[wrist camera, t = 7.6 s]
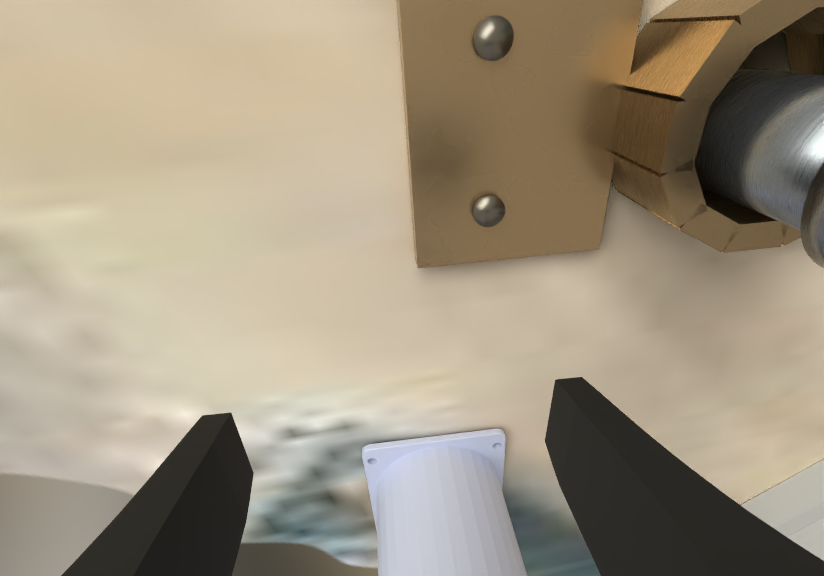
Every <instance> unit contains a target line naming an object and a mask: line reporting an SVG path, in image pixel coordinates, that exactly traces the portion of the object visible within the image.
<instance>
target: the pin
mask: <svg viewBox="0 0 824 576" xmlns="http://www.w3.org/2000/svg"><path fill="white" fill-rule="evenodd" d="M694 166H695V169H696V173H697V176H698V179H699V183H700V186H701V187H702V188H704V189H707V190H709V191H711V192H713V193H716V194H718V195H720V196H723V197H725V198H727V199H729V200H732V201H734V202H736V203H739V204H741V205H743V206H745V207H748V208H750V209H752V210H755V211H757V212H759V213H761V214H764V215H766V216H768V217H771V218H773V219H775V220H777V221H780V222H782V223H784V224H787V225H789V226H791V227H794V228H796V229H798V230H800V231H801V239H802V242H803V246H804V249H805V250H806V252H807V254H808V256H809V257H810V258H811V259H812V260H813V261H814V262H815V263H816V264H818V265H819V266H821V267H823V268H824V75H815V74H803V73H791V72H779V71H767V70H755V69H743V68H738V70H737V71H736V72H735V74H734V75H733V76H732V78H731V79H730V80H729V81H728V83H727V84H726V85H725V87H724V88H723V89H722V91H721V92H720V93H719V95H718V96H717V97H716V99H715V100H714V101H713V103H712V104H711V105H710V107H709V111H708V114H707V118H706V122H705V125H704V129H703V133H702V136H701V140H700V144H699V147H698V151H697V155H696V158H695V162H694Z"/></svg>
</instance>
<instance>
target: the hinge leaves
mask: <svg viewBox="0 0 824 576" xmlns="http://www.w3.org/2000/svg"><path fill="white" fill-rule="evenodd" d="M642 4H643V0H397V8H398V22H399V36H400V50H401V64H402V79H403V93H404V107H405V121H406V135H407V149H408V164H409V178H410V192H411V206H412V220H413V234H414V249H415V259H416V263H417V268H423V267H433V266H442V265H452V264H461V263H471V262H481V261H490V260H500V259H509V258H519V257H529V256H538V255H548V254H557V253H567V252H577V251H586V250H596V249H599V246H600V241H601V235H602V229H603V224H604V218H605V212H606V207H607V201H608V195H609V190H610V184H611V179H612V181H613V183H614V186H615V188H616V189H617V190H618V192H620V193H622V194H623V195H625V196H626V197H628V198H630V199H631V200H633V201H634V202H636V203H638V204H639V205H641V206H642V207H644V208H646V209H647V210H649V211H650V212H652V213H654V214H655V215H657V216H658V217H660V218H662V219H663V220H665V221H666V222H668V223H670V224H671V225H673V226H674V227H676V228H678V229H679V230H681V231H683V232H685V233H687V234H688V235H690V236H692V237H694V238H696V239H698V240H700V241H702V242H704V243H705V244H707V245H709V246H711V247H713V248H715V249H717V250H719V251H720V252H722V251H723V252H734V251H743V250H753V249H762V248H772V247H781V244H783V245H786V244H788V243H790V242H792V241H793V240H795V239H797V238H799V237H801V231H800V230H798V229H796V228H794V227H791V226H789V225H787V224H784V223H782V222H780V221H777V220H775V219H773V218H771V217H768V216H766V215H764V214H761V213H759V212H757V211H755V210H752V209H750V208H748V207H745V206H743V205H741V204H739V203H736V202H734V201H732V200H729V199H727V198H725V197H723V196H720V195H718V194H716V193H713V192H711V191H709V190H707V189H704V188H702V187H701V186H700V183H699V179H698V176H697V173H696V169H695V166H694V162H695V158H696V155H697V151H698V147H699V144H700V140H701V136H702V133H703V129H704V125H705V122H706V118H707V114H708V111H709V107H710V105H711V104H712V103H713V101H714V100H715V99H716V97H717V96H718V95H719V93H720V92H721V91H722V89H723V88H724V87H725V85H726V84H727V83H728V81H729V80H730V79H731V78H732V76H733V75H734V74H735V72H736V71H737V70H738V68H739V67H740V66H741V64H742V63H743V62H744V60H745V59H746V58H747V56H748V55H749V54H750V52H751V51H752V50H753V48H754V47H756V46H757V45H759V44H760V43H762V42H764V41H765V40H767V39H768V38H770V37H771V36H773V35H774V34H776V33H778V32H779V31H782V32H783V33H784V34H785V37H786V43H787V50H788V57H789V64H790V70H791V73H803V74H815V75H824V0H677V1H676V2H675V3H673V4H672V5H670V6H669V7H667V8H666V9H664V10H663V11H662V12H660V13H659V14H657V15H656V16H654V17H653V18H651V19H650V21H651V23H646V25H645V26H644V28H643V29H642V31H641V33H640V34H639V36H638V37H637V32H638V26H639V21H640V15H641V9H642ZM636 37H637V39H636Z"/></svg>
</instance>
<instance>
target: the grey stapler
mask: <svg viewBox="0 0 824 576" xmlns="http://www.w3.org/2000/svg"><path fill="white" fill-rule="evenodd" d="M741 506H742V507H743V508H745V509H746V510H748V511H749V512H750V513H752V514H753V515H755V516H756V517H758V518H759V519H761V520H762V521H764V522H765V523H767V524H768V525H770V526H771V527H773V528H774V529H776V530H777V531H779V532H780V533H782V534H783V535H785V536H786V537H788V538H789V539H791V540H792V541H794V542H795V543H797V544H798V545H800V546H801V547H803V548H804V549H806V550H808V551H809V552H811V553H812V554H814V555H815V556H817V557H819V558H820V559H822V560H823V561H824V459H823V460H821V461H819V462H817V463H816V464H814V465H812V466H810V467H808V468H807V469H805V470H803V471H801V472H799V473H798V474H796V475H794V476H792V477H790V478H789V479H787V480H785V481H783V482H781V483H779V484H778V485H776V486H774V487H772V488H770V489H769V490H767V491H765V492H763V493H761V494H760V495H758V496H756V497H754V498H752V499H751V500H749V501H747V502H745V503H743V504H742V505H741Z"/></svg>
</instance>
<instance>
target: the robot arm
mask: <svg viewBox="0 0 824 576" xmlns="http://www.w3.org/2000/svg"><path fill="white" fill-rule="evenodd" d="M545 443H546V446H547V449H548V452H549V455H550V458H551V461H552V465H553V468H554V470H555V473H556V476H557V479H558V482H559V485H560V487H561V489H562V492H563V494H564V496H565V498H566V500H567V503H568V505H569V507H570V509H571V511H572V514H573V516H574V518H575V520H576V522H577V524H578V527H579V529H580V531H581V533H582V535H583V537H584V539H585V542H586V544H587V546H588V548H589V550H590V552H591V555H592V557H593V559H594V561H595V563H596V565H597V567H598V570H599V572H600V574H601V576H824V561H823V560H822V559H820V558H819V557H817V556H815V555H814V554H812V553H811V552H809V551H808V550H806V549H804V548H803V547H801V546H800V545H798V544H797V543H795V542H794V541H792V540H791V539H789V538H788V537H786V536H785V535H783V534H782V533H780V532H779V531H777V530H776V529H774V528H773V527H771V526H770V525H768V524H767V523H765V522H764V521H762V520H761V519H759V518H758V517H756V516H755V515H753V514H752V513H750V512H749V511H748V510H746V509H745V508H743V507H742V506H741V505H739V504H738V503H736V502H735V501H734V500H732V499H731V498H729V497H728V496H727V495H725V494H724V493H723V492H721V491H720V490H719V489H717V488H716V487H715V486H713V485H712V484H711V483H709V482H708V481H707V480H705V479H704V478H703V477H701V476H700V475H699V474H697V473H696V472H695V471H693V470H692V469H691V468H689V467H688V466H687V465H686V464H684V463H683V462H682V461H681V460H679V459H678V458H677V457H675V456H674V455H673V454H672V453H670V452H669V451H668V450H667V449H666V448H664V447H663V446H662V445H661V444H659V443H658V442H657V441H656V440H655V439H653V438H652V437H651V436H650V435H648V434H647V433H646V432H645V431H644V430H643V429H641V428H640V427H639V426H638V425H637V424H635V423H634V422H633V421H632V420H631V419H630V418H628V417H627V416H626V415H625V414H624V413H623V412H621V411H620V410H619V409H618V408H617V407H616V406H615V405H613V404H612V403H611V402H610V401H609V400H608V399H606V398H605V397H604V396H603V395H602V394H601V393H600V392H598V391H597V390H596V389H595V388H594V387H593V386H592V385H590V384H589V383H588V382H587V381H586V380H585V379H583V378H582V377H577V378H567V379H558V380H555V385H554V391H553V397H552V403H551V408H550V414H549V420H548V426H547V432H546V438H545ZM505 446H506V436H505V433H504V431H503V430H501V429H489V430H481V431H473V432H465V433H456V434H448V435H440V436H432V437H424V438H416V439H407V440H399V441H391V442H383V443H375V444H369V445H366V446H364V447H363V449H362V458H363V463H364V468H365V473H366V479H367V484H368V489H369V494H370V499H371V504H372V509H373V514H374V520H375V525H376V530H377V543H378V576H527V573H526V570H525V566H524V563H523V560H522V556H521V553H520V550H519V546H518V543H517V540H516V536H515V533H514V530H513V526H512V523H511V520H510V516H509V513H508V510H507V506H506V503H505V500H504V496H503V493H502V488H503V474H504V460H505ZM252 480H253V470H252V468H251V465H250V462H249V460H248V457H247V454H246V452H245V449H244V446H243V444H242V441H241V438H240V435H239V433H238V430H237V427H236V425H235V422H234V419H233V417H232V414H231V413H224V414H214V415H204V416H202V417H201V418H200V419H199V420H198V421H197V422H196V424H195V425H194V426H193V427H192V428H191V429H190V431H189V432H188V433H187V434H186V435H185V437H184V438H183V439H182V440H181V441H180V443H179V444H178V445H177V446H176V447H175V449H174V450H173V451H172V452H171V453H170V455H169V456H168V457H167V458H166V459H165V461H164V462H163V463H162V464H161V465H160V467H159V468H158V469H157V470H156V471H155V472H154V474H153V475H152V476H151V477H150V478H149V480H148V481H147V482H146V483H145V484H144V485H143V486H142V488H141V489H140V490H139V491H138V492H137V493H136V495H135V496H134V497H133V498H132V499H131V500H130V501H129V503H128V504H127V505H126V506H125V507H124V508H123V510H122V511H121V512H120V513H119V514H118V515H117V516H116V518H115V519H114V520H113V521H112V522H111V523H110V524H109V525H108V526H107V527H106V528H105V530H104V531H103V532H102V533H101V534H100V535H99V536H98V537H97V538H96V539H95V540H94V541H93V543H92V544H91V545H90V546H89V547H88V548H87V549H86V550H85V551H84V552H83V553H82V554H81V555H80V557H79V558H78V559H77V560H76V561H75V562H74V563H73V564H72V565H71V566H70V567H69V568H68V569H67V570H66V571H65V572H64V573H63V574H62V575H61V576H232V572H233V568H234V565H235V561H236V558H237V554H238V550H239V546H240V543H241V539H242V535H243V531H244V528H245V524H246V519H247V513H248V507H249V501H250V494H251V487H252Z"/></svg>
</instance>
